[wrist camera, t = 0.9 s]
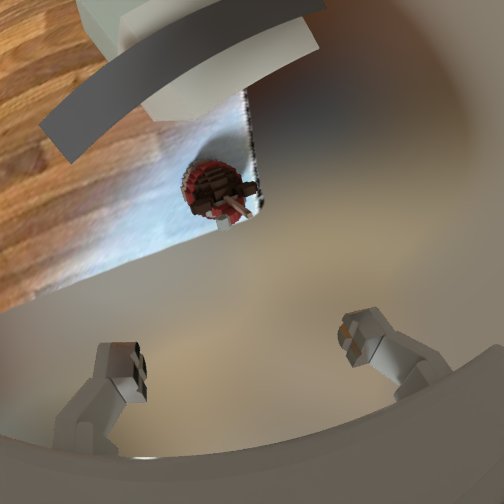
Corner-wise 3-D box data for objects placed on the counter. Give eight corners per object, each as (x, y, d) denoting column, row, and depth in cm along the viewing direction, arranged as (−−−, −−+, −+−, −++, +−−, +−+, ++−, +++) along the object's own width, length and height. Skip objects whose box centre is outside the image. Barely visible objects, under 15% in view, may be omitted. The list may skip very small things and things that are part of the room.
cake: (226, 150, 48) (280, 168, 34) (237, 196, 53) (289, 231, 39) (170, 170, 45) (200, 196, 31) (185, 217, 50) (220, 262, 36)
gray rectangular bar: (79, 156, 16) (71, 164, 13) (52, 124, 14) (38, 124, 11) (298, 17, 18) (326, 8, 15) (280, -11, 16) (306, -25, 13)
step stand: (153, 121, 40) (196, 120, 19) (84, 29, 26) (64, -51, 6) (220, 75, 41) (319, 48, 20) (156, -13, 27) (207, -102, 7)
